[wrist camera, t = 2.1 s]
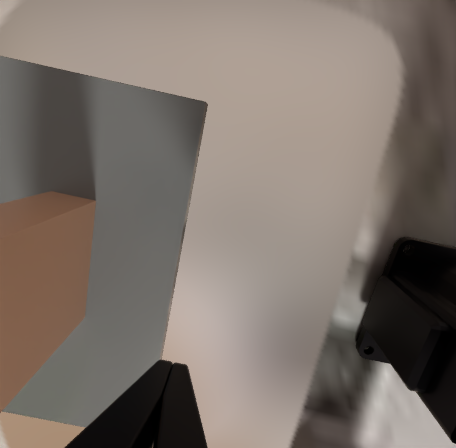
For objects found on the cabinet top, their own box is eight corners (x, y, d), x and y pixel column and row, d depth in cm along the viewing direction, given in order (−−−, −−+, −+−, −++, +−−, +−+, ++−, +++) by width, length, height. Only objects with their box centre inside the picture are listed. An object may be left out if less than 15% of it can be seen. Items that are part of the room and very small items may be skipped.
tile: (95, 200, 13) (-56, 261, 6) (84, 317, 15) (-47, 465, 8) (47, 190, 13) (-158, 239, 6) (41, 308, 15) (-128, 450, 8)
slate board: (207, 104, 13) (205, 102, 12) (149, 425, 17) (145, 438, 17) (-171, 19, 12) (-198, 11, 11) (-126, 372, 17) (-143, 383, 16)
